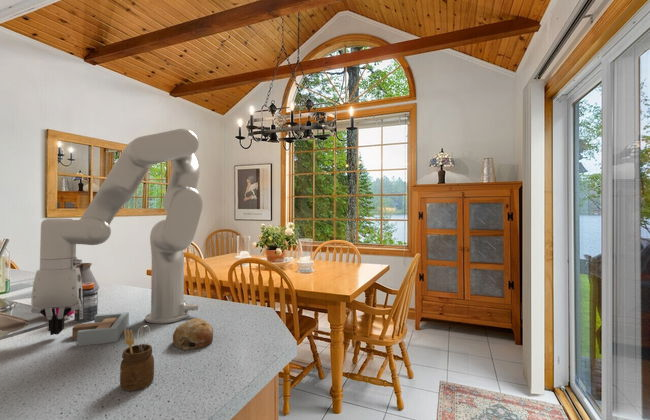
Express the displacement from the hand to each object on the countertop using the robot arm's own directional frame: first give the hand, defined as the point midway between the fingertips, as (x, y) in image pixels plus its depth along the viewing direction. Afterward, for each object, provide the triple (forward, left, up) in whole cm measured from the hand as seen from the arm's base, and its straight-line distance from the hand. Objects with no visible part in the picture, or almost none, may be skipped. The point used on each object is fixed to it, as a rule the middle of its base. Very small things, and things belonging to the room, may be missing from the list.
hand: (56, 332), depth 88 cm
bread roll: (-35, +13, -2) cm, 37 cm away
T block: (-9, 0, -2) cm, 9 cm away
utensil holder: (-25, +33, -2) cm, 41 cm away
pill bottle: (-2, -16, -2) cm, 16 cm away
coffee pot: (+8, -44, -2) cm, 45 cm away
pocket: (-11, 0, -2) cm, 11 cm away
